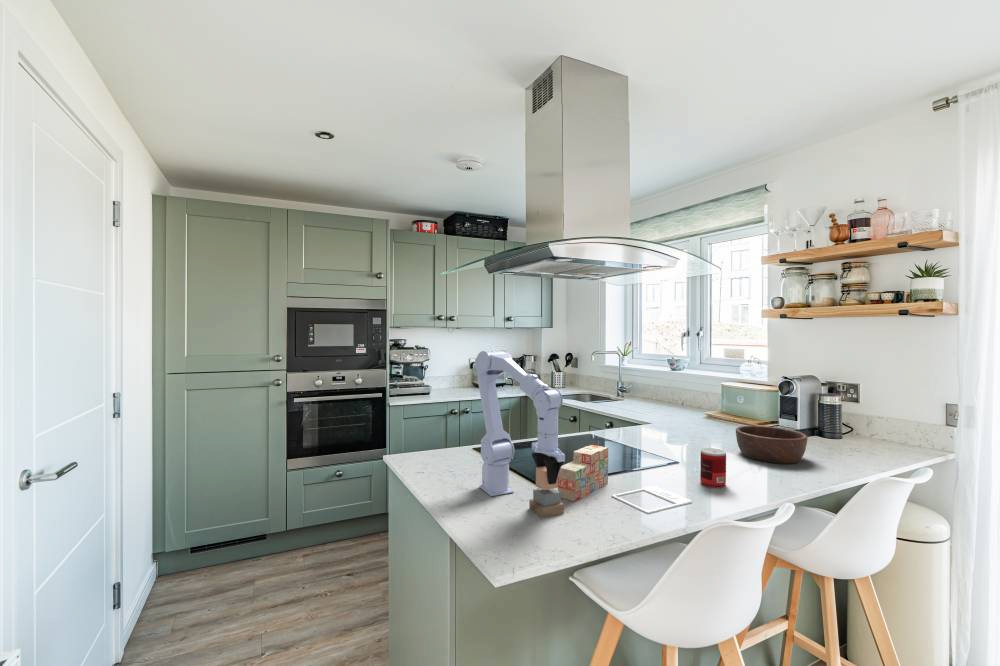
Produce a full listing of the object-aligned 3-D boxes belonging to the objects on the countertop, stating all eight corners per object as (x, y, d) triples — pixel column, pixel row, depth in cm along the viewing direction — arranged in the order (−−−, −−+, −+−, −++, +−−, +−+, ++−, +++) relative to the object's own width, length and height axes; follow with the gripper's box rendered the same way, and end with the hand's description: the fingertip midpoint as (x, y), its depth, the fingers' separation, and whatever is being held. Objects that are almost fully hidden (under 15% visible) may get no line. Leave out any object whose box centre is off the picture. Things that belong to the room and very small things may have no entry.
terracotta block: (535, 484, 130) (535, 467, 130) (549, 482, 132) (549, 465, 132) (544, 489, 126) (544, 471, 126) (557, 487, 128) (558, 469, 128)
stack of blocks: (575, 502, 136) (575, 461, 136) (557, 497, 140) (557, 457, 139) (608, 484, 152) (608, 447, 152) (591, 479, 156) (591, 443, 156)
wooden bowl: (730, 446, 201) (730, 423, 201) (796, 452, 194) (796, 427, 193) (741, 462, 178) (741, 436, 177) (816, 469, 170) (817, 441, 170)
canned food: (727, 482, 154) (727, 450, 154) (723, 489, 147) (724, 455, 147) (702, 478, 158) (703, 446, 158) (698, 485, 151) (698, 451, 151)
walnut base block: (529, 509, 131) (529, 499, 131) (550, 505, 134) (550, 495, 134) (542, 519, 124) (542, 508, 124) (563, 514, 127) (563, 503, 127)
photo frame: (692, 500, 136) (647, 511, 127) (692, 504, 136) (647, 515, 127) (654, 485, 149) (611, 494, 140) (654, 488, 149) (611, 498, 140)
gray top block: (533, 500, 130) (533, 489, 130) (548, 496, 133) (549, 486, 133) (544, 506, 125) (544, 495, 125) (560, 502, 128) (560, 492, 128)
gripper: (522, 428, 134) (522, 475, 134) (549, 439, 121) (548, 491, 121) (543, 426, 137) (543, 471, 137) (571, 437, 124) (571, 487, 124)
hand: (547, 480), depth 129 cm, fingers closed on terracotta block, 4 cm apart
